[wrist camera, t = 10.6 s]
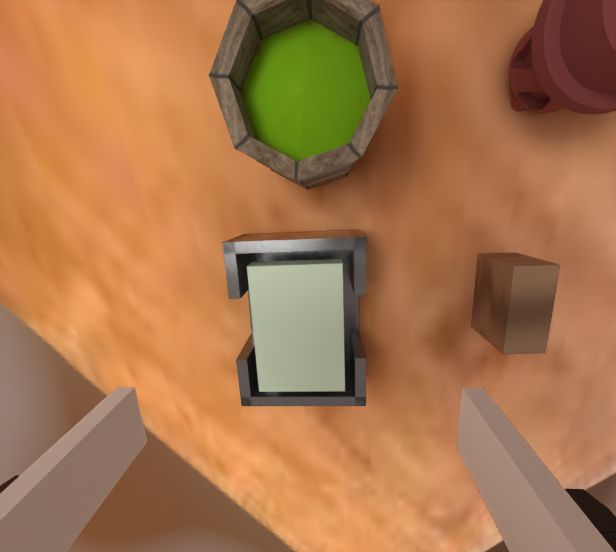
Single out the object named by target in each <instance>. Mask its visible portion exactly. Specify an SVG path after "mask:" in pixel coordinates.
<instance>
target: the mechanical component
mask: <svg viewBox="0 0 616 552" xmlns="http://www.w3.org/2000/svg"><path fill="white" fill-rule="evenodd" d="M509 83H510V86H511V90H512V92H513V94H514V95H513V97H512V99H511V106H512V108H513V109H514V110H516V111H522V110H524V109H526V108H528V109H530V110H533V111H536V112H552V111H556V110H560V109H562V108H565V109H568V110H570V111H573V112H577V113H582V114H602V113H608V112H612V111H616V0H544V1H543V3H542V5H541V7H540V9H539V12H538V15H537V18H536V21H535V24H534V27H533V28H531V29H530V30H529V31H528V32H527V33H526V34H525V35H524V37H523V38H522V39H521V40H520V42H519V43H518V45H517V47H516V48H515V50H514V53H513V55H512V58H511V62H510V66H509Z"/></svg>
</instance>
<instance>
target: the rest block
mask: <svg viewBox="0 0 616 552" xmlns="http://www.w3.org/2000/svg"><path fill="white" fill-rule="evenodd" d="M559 268H560V265H558V264H555V263H551V262H547V261H543V260H540V259H536V258H532V257H529V256H525V255H521V254H517V253H493V254H478V259H477V270H476V280H475V291H474V302H473V312H472V323H471V327H472V328H474V329H475V330H476V331H477V332H478V333H480V334H481V335H482V336H483V337H484V338H485V339H487V340H488V341H489V342H490V343H491V344H492V345H494V346H495V347H496V348H497V349H498V350H499V351H501V352H502V353H503V354H530V353H546V348H547V342H548V335H549V329H550V323H551V317H552V311H553V305H554V299H555V293H556V286H557V280H558V274H559Z"/></svg>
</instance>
